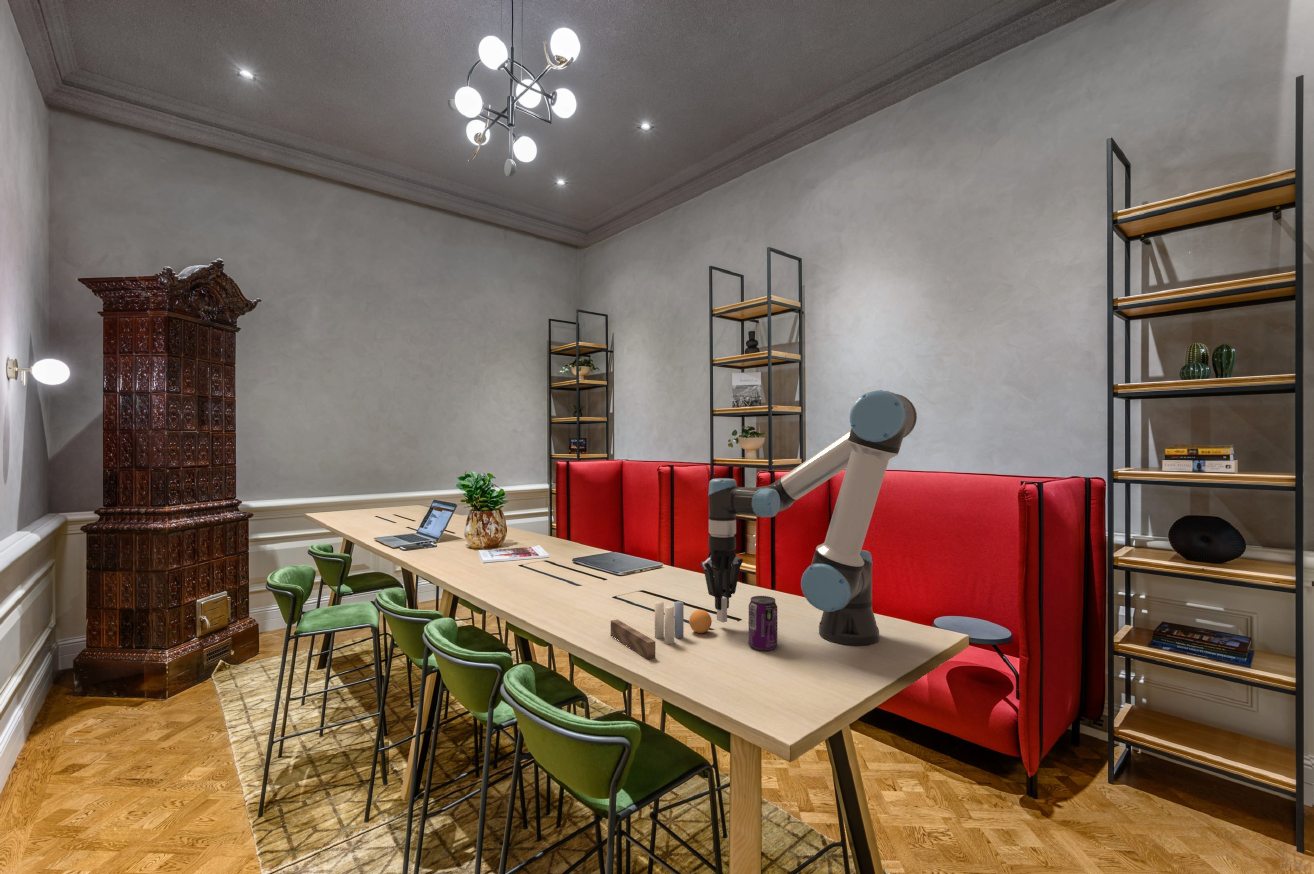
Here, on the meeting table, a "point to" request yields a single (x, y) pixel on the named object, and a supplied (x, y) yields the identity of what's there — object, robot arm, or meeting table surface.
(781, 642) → the meeting table surface
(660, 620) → the rear pin right
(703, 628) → the ball
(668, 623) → the rear pin left
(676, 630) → the front pin
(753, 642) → the beverage can
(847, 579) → the robot arm
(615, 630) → the walnut rail
